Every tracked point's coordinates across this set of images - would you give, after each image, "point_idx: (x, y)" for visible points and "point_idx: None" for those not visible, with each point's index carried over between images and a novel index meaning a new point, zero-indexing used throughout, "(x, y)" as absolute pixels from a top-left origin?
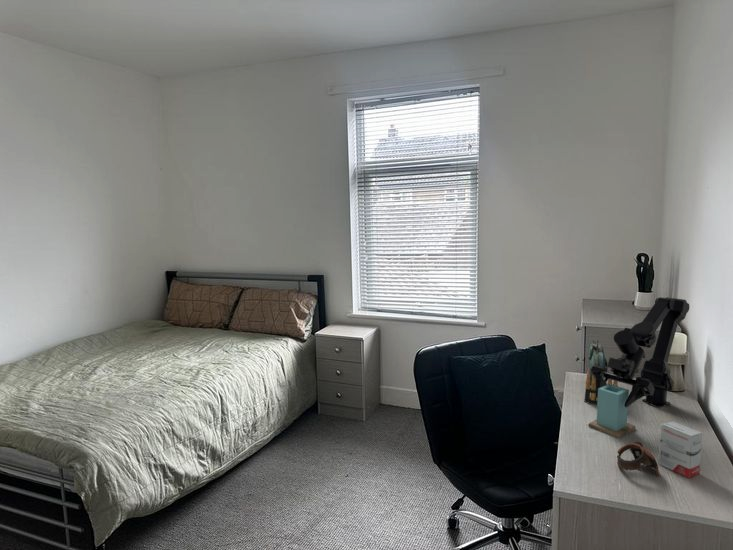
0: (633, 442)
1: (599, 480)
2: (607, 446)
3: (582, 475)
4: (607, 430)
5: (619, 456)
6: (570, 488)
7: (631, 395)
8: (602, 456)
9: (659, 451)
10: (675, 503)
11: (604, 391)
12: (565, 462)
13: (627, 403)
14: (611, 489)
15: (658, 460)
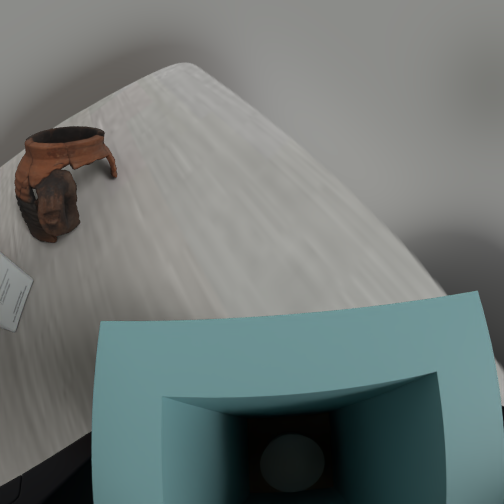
0: (57, 186)
1: (139, 110)
2: (192, 251)
3: (174, 97)
4: None
5: (96, 129)
6: (174, 69)
7: (19, 490)
8: (173, 181)
9: (5, 256)
10: (16, 167)
11: (367, 313)
12: (232, 100)
13: (90, 436)
14: (111, 110)
15: (26, 274)
